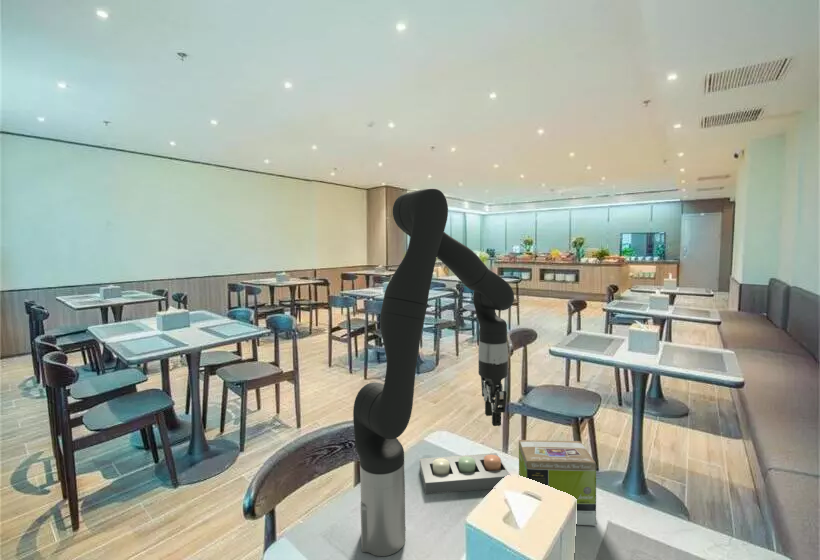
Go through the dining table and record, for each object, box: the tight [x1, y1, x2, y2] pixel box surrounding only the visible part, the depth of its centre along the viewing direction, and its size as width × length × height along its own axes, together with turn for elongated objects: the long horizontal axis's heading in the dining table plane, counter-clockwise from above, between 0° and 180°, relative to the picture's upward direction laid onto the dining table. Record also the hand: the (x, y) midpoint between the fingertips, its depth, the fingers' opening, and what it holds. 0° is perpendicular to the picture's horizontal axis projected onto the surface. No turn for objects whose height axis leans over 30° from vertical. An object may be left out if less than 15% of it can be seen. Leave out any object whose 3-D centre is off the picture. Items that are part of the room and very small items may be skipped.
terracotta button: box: [484, 455, 502, 471], centre depth 103 cm, size 4×4×3 cm
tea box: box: [518, 439, 597, 526], centre depth 89 cm, size 15×10×15 cm, turn 84°
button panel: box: [419, 452, 511, 495], centre depth 102 cm, size 22×11×3 cm, turn 96°
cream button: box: [433, 458, 450, 475], centre depth 101 cm, size 4×4×3 cm
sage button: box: [459, 456, 475, 473], centre depth 102 cm, size 4×4×3 cm
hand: (492, 419), depth 102 cm, fingers open, 5 cm apart
